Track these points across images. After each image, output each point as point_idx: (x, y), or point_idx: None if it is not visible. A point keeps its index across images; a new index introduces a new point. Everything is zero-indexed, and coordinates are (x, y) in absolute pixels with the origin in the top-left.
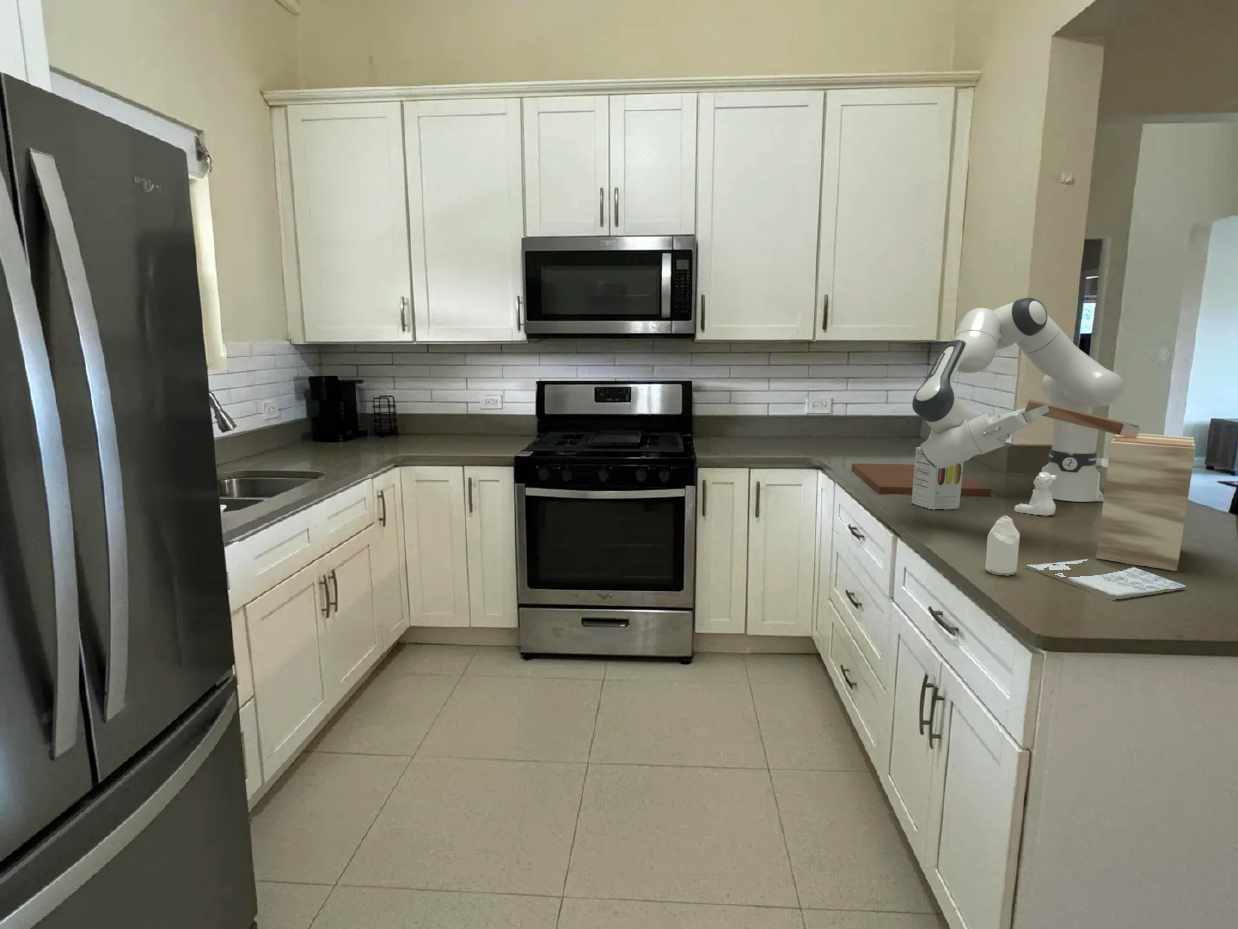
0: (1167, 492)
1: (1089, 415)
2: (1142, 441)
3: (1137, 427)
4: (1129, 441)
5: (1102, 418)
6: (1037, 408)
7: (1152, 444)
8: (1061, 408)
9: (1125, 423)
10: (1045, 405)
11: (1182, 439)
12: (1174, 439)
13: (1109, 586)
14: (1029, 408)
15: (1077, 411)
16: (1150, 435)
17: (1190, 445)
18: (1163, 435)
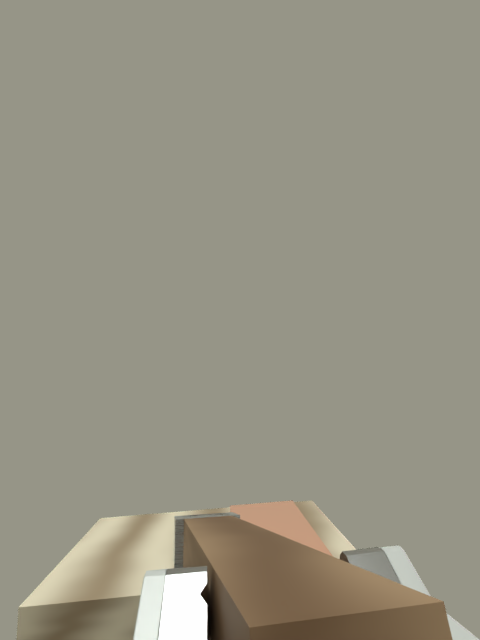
0: None
1: (243, 526)
2: (302, 534)
3: (223, 513)
4: (325, 547)
5: (228, 522)
6: (451, 620)
7: (315, 528)
8: (269, 544)
9: (202, 517)
10: (399, 548)
11: (161, 520)
12: (169, 525)
13: None
14: None
15: (210, 535)
16: (101, 551)
17: (290, 501)
18: (86, 541)
